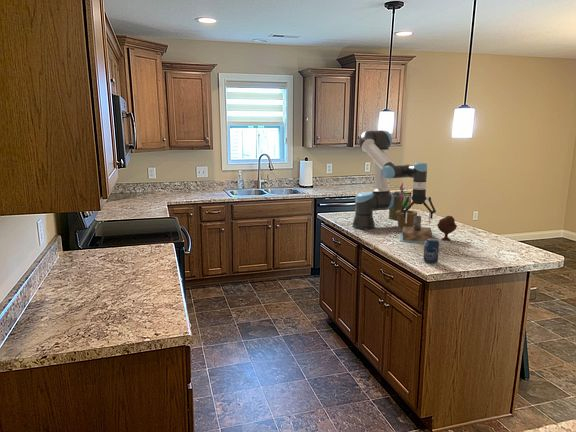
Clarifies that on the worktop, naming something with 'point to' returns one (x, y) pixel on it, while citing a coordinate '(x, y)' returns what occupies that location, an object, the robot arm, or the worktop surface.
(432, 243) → the soda can
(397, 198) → the canister
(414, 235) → the lid
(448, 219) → the ice cream bowl
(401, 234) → the mat
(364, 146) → the robot arm
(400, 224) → the flowerpot
